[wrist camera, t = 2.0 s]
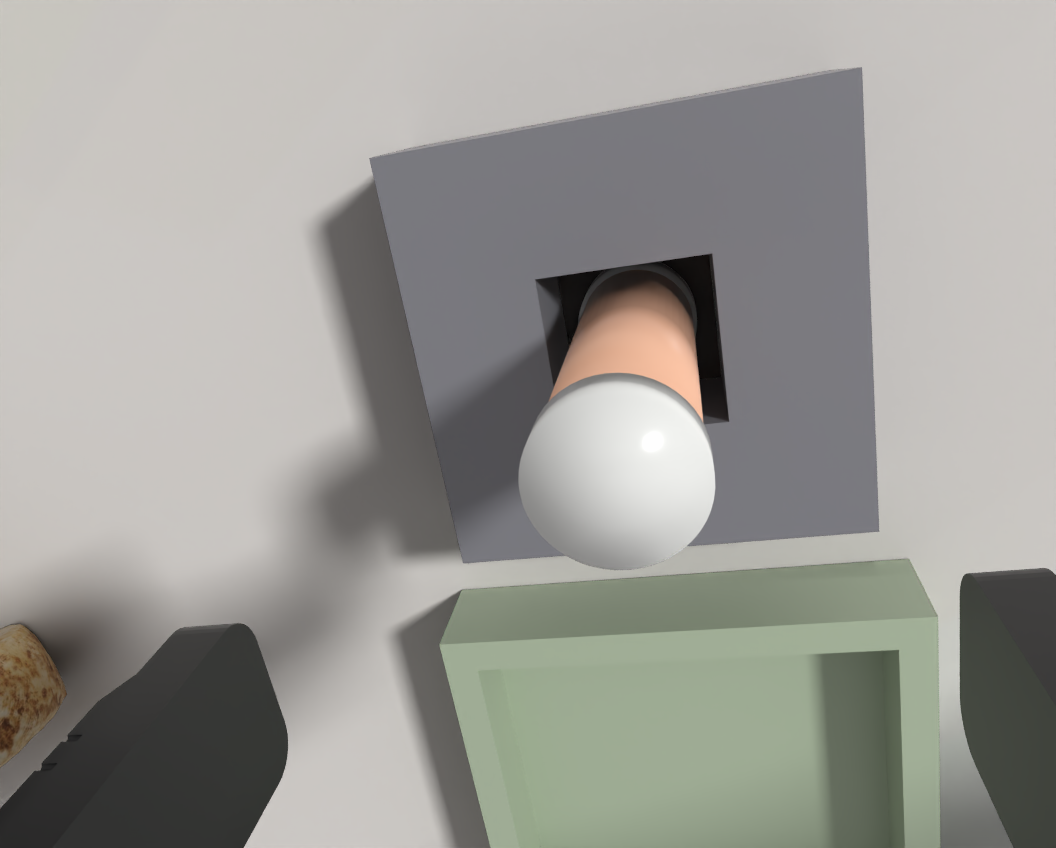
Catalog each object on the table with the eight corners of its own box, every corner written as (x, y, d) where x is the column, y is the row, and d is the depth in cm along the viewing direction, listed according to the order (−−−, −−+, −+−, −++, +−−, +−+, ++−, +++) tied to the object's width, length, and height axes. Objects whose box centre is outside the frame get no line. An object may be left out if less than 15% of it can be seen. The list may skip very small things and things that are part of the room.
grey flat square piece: (832, 70, 21) (862, 67, 18) (852, 473, 25) (879, 531, 21) (411, 147, 23) (369, 157, 20) (488, 506, 27) (463, 563, 24)
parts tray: (909, 558, 25) (938, 616, 23) (916, 900, 30) (941, 982, 27) (461, 590, 28) (438, 644, 25) (533, 897, 33) (521, 971, 30)
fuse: (689, 250, 23) (704, 381, 13) (702, 362, 24) (724, 562, 14) (573, 267, 24) (501, 404, 14) (590, 375, 25) (536, 576, 15)
